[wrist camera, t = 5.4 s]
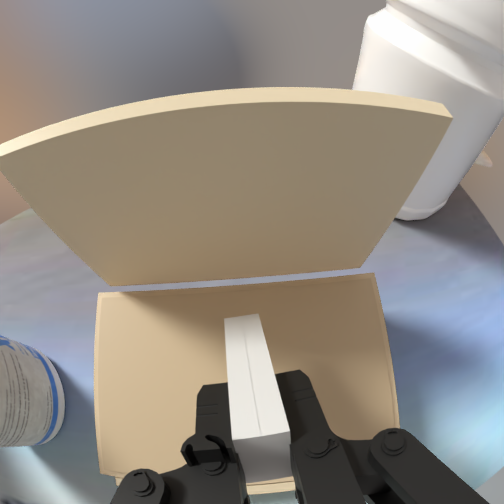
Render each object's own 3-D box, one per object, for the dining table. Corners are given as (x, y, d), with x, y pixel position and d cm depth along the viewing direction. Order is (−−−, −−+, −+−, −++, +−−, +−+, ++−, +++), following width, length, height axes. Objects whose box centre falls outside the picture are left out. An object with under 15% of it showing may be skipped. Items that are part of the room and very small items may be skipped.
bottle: (462, 210, 28) (579, 13, 3) (372, 238, 26) (503, -73, 1) (402, 127, 34) (460, -54, 9) (313, 137, 32) (345, -101, 7)
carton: (136, 466, 17) (100, 483, 12) (131, 317, 23) (97, 292, 18) (368, 451, 18) (403, 465, 12) (348, 301, 24) (374, 271, 18)
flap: (110, 286, 18) (-8, 159, 7) (112, 272, 18) (2, 140, 7) (360, 267, 18) (453, 117, 7) (356, 253, 19) (439, 100, 8)
